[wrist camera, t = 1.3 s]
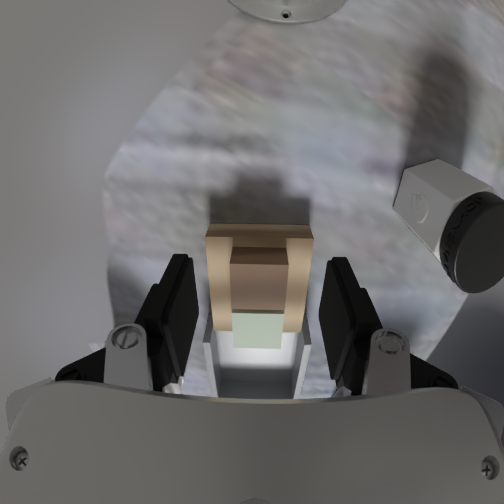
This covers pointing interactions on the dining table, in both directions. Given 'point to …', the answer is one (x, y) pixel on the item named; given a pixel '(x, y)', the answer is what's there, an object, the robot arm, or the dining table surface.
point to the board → (258, 235)
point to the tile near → (258, 278)
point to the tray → (256, 365)
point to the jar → (455, 222)
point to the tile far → (257, 328)
